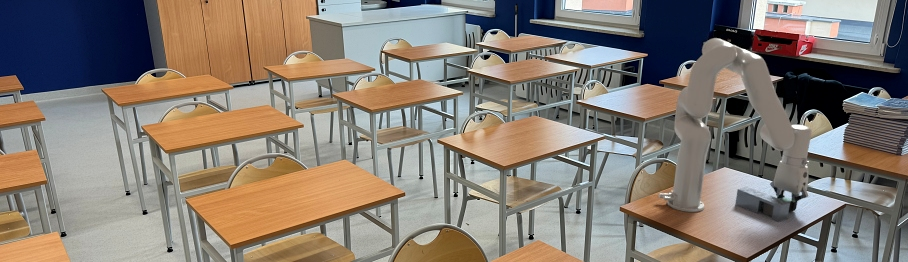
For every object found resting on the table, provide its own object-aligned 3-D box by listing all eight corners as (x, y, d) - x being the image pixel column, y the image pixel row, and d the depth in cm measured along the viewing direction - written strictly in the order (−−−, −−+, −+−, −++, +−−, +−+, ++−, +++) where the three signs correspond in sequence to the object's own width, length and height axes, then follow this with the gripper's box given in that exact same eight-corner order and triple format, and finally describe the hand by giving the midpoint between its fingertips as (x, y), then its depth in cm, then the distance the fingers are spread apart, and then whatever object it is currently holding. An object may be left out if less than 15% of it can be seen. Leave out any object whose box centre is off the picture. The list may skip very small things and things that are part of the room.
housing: (778, 221, 221) (781, 205, 219) (735, 204, 235) (737, 189, 233) (787, 219, 223) (790, 202, 222) (744, 202, 237) (746, 186, 236)
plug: (773, 216, 225) (775, 206, 223) (763, 212, 228) (764, 202, 227) (793, 211, 230) (795, 200, 229) (782, 207, 233) (784, 196, 232)
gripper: (823, 165, 220) (814, 215, 226) (778, 152, 234) (770, 199, 239) (810, 169, 217) (801, 219, 222) (765, 154, 231) (757, 202, 236)
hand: (785, 208), depth 231 cm, fingers closed on plug, 4 cm apart
